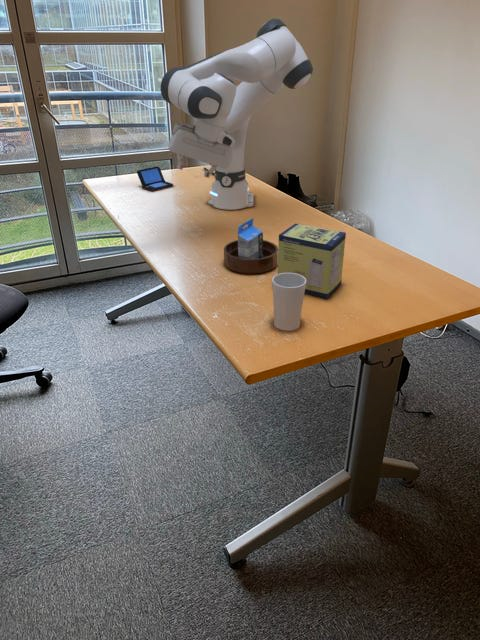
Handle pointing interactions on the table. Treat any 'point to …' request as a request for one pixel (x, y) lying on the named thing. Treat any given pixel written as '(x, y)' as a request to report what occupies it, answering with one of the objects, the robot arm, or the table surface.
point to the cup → (288, 300)
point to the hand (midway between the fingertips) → (193, 172)
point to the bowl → (251, 265)
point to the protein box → (313, 257)
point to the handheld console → (152, 179)
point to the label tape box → (250, 241)
